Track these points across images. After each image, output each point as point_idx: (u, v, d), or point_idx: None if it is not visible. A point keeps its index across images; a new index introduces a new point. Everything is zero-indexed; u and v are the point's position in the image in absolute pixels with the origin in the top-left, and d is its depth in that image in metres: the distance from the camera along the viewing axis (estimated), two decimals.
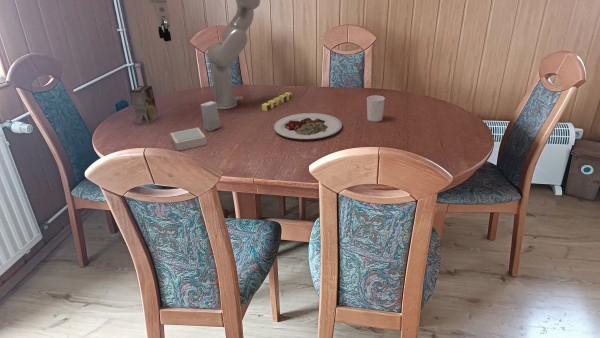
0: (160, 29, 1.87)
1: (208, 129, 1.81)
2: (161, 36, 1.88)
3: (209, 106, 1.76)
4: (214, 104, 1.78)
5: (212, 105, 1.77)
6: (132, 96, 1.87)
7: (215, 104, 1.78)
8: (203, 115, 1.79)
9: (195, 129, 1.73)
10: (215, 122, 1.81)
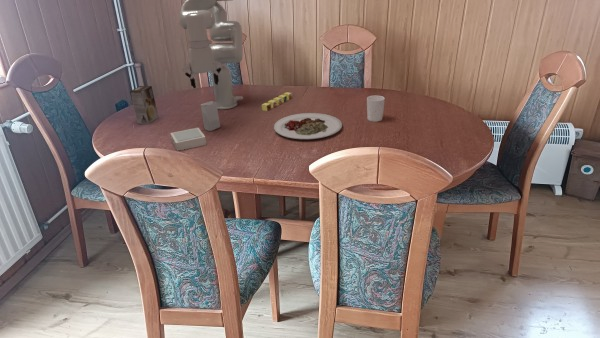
0: (193, 78, 1.70)
1: (208, 129, 1.81)
2: None
3: (209, 106, 1.76)
4: (214, 104, 1.78)
5: (212, 105, 1.77)
6: (132, 96, 1.87)
7: (215, 104, 1.78)
8: (203, 115, 1.79)
9: (195, 129, 1.73)
10: (215, 122, 1.81)
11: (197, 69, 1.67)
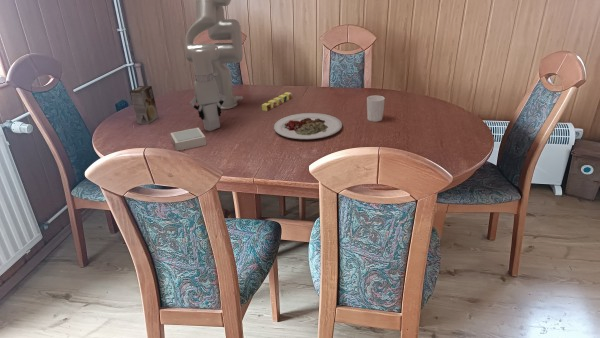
0: (201, 110, 1.77)
1: (208, 129, 1.81)
2: None
3: (209, 106, 1.76)
4: (214, 104, 1.78)
5: (212, 105, 1.77)
6: (132, 96, 1.87)
7: (215, 104, 1.78)
8: (203, 115, 1.79)
9: (195, 129, 1.73)
10: (215, 122, 1.81)
11: (202, 101, 1.74)
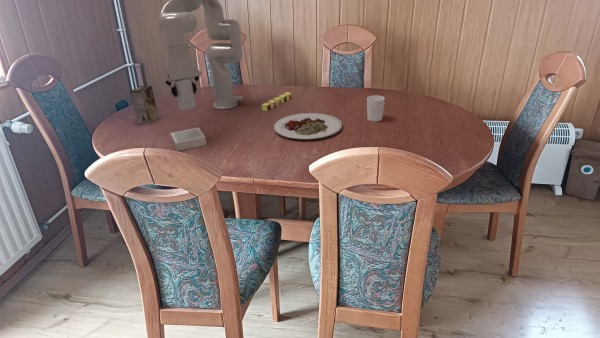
0: (174, 86, 1.60)
1: (182, 108, 1.63)
2: None
3: (183, 82, 1.59)
4: (188, 80, 1.60)
5: (186, 80, 1.60)
6: (132, 96, 1.87)
7: (190, 80, 1.61)
8: (176, 92, 1.61)
9: (196, 129, 1.73)
10: (190, 101, 1.64)
11: (175, 76, 1.57)
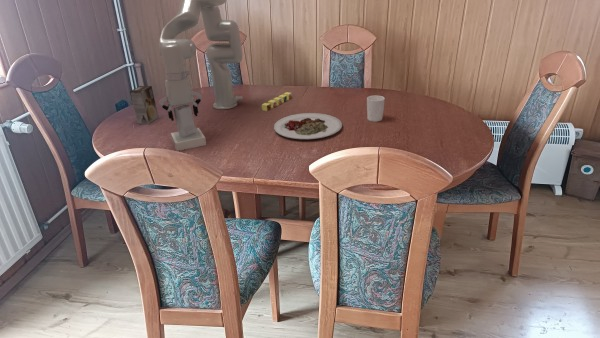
0: None
1: (182, 135, 1.66)
2: (173, 118, 1.63)
3: (183, 110, 1.62)
4: (188, 108, 1.63)
5: (186, 109, 1.63)
6: (132, 96, 1.87)
7: (190, 108, 1.64)
8: (177, 120, 1.64)
9: (196, 130, 1.73)
10: (190, 128, 1.67)
11: (174, 101, 1.59)
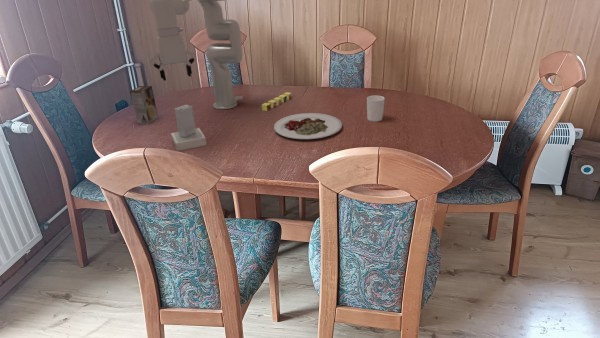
0: (163, 70, 1.54)
1: (182, 135, 1.66)
2: (165, 78, 1.55)
3: (184, 111, 1.61)
4: (190, 108, 1.63)
5: (187, 109, 1.62)
6: (132, 96, 1.87)
7: (191, 108, 1.63)
8: (177, 120, 1.64)
9: (196, 130, 1.73)
10: (191, 128, 1.67)
11: (166, 60, 1.51)
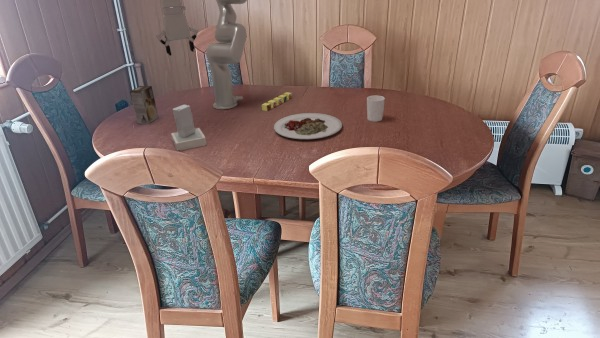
0: (168, 45, 1.70)
1: (182, 135, 1.66)
2: None
3: (182, 110, 1.61)
4: (187, 108, 1.63)
5: (185, 109, 1.62)
6: (132, 96, 1.87)
7: (188, 108, 1.64)
8: (176, 120, 1.64)
9: (196, 130, 1.73)
10: (190, 128, 1.67)
11: (172, 36, 1.68)
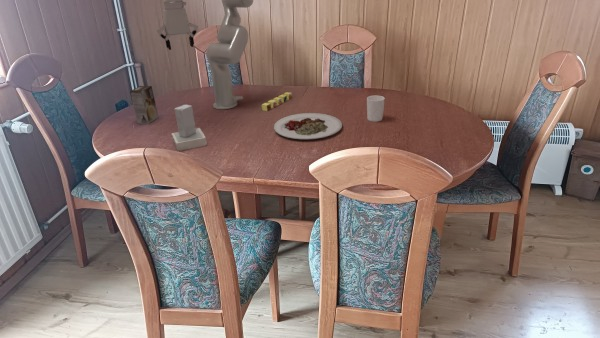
0: (168, 40, 1.73)
1: (183, 135, 1.66)
2: None
3: (184, 110, 1.62)
4: (189, 108, 1.64)
5: (187, 108, 1.63)
6: (132, 96, 1.87)
7: (191, 108, 1.64)
8: (177, 120, 1.64)
9: (197, 130, 1.73)
10: (191, 128, 1.67)
11: (172, 30, 1.70)
